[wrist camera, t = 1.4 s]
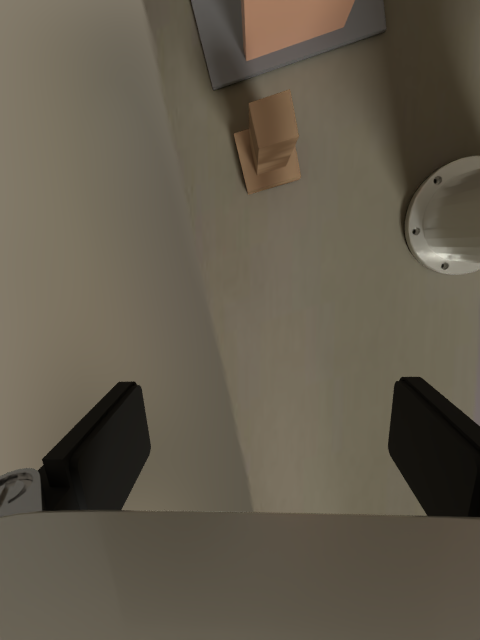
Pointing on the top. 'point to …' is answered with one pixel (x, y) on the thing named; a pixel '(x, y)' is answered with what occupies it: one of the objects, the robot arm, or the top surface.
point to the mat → (229, 58)
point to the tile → (288, 22)
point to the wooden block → (269, 143)
